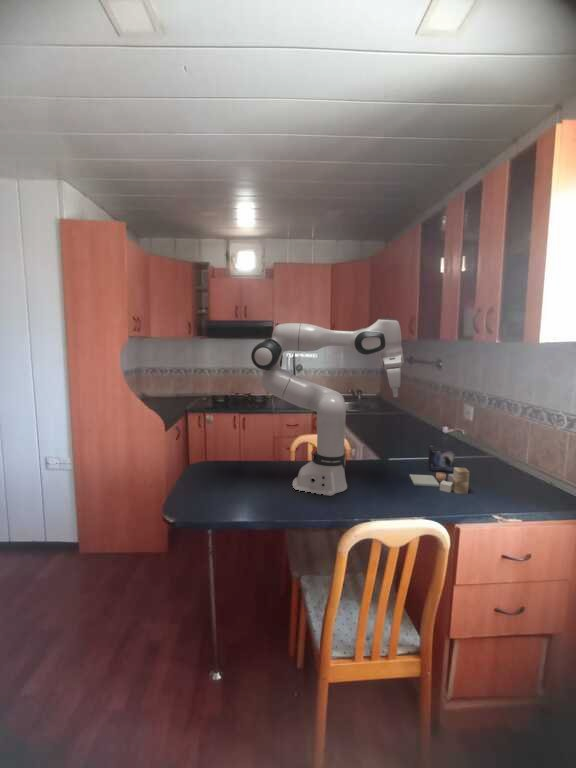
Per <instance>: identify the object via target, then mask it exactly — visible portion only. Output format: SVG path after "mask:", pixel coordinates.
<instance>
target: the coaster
mask: <svg viewBox="0 0 576 768" xmlns="http://www.w3.org/2000/svg"><path fill="white" fill-rule="evenodd" d="M409 478H410V479H411V482H412V483H413V485H414V486H421V487H422V486H423V487H424V486H425V487H440V482H438V481H436V477H435V476H434V475H430V474H413V473H412V474H409Z"/></svg>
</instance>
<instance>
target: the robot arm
mask: <svg viewBox="0 0 576 768" xmlns="http://www.w3.org/2000/svg"><path fill="white" fill-rule="evenodd" d="M402 339H403V338H402V330H401V325H400V323H399V321H398V320H397V319H396V318H391V317H390V318H387V317H385V318H384V317H382V318H378V319H377V320H376V321H375V322H374V323H372V324H371V325H370V326H368V327H359V328H358V329H355V330H335V329H334V330H332V329H327V328H324V327H322V326H318V325H316V324H310V323H305V322H304V323H303V322H302V323H301V322H298V323H297V322H289V323H288V322H287V323H280V324H277V325H275V327H274V328H273V331H272V334H271V338H267V339H266V340H264V341H262V342H260V343H257V344H256V345H255V346H254V347H253V349H252V350H251V355H250V356H251V357H250V358H251V362H252V363H253V365H254V366H255V367H256V368H257V369H259V370H262V375H261V378H260V385H261V387H262V388H263V389H264V391H266V392H268V393H269V394H272V396H275V397H277V398H278V399H280V400H284V401H286V402H287V403H290V404H292V405H295V406H296V407H297V408H298V407H299V408H303V409H307V410H309V411H310V410H311V411H313V412H316V431H317V432H316V436H317V437H316V449H313V450H311V460H310V461H309V462H307V463H306V464H305V465H303V466H302V467H301V468H300V469H299V472H298V474H297V476H296V477H295V478H294V479H293V480H292V486H293V487H292V486H291V487H292V489H293V488H294V489H295V490H299V491H298V492H300V491H305V492H304V493H307V492H311V493H310V494H314V493H316V495H321V494H323V495H322V496H330V497H331V496H334V495H335V494H338V493H341V492H344V491H346V490H347V489H348V483H347V480H346V473H345V467H346V453H345V438H346V437H345V435H346V418H347V417H346V415H347V407H346V401H345V398H344V396H343V395H342V394H341V393H340V392H338V391H336V390H334V389H331V388H329V387H326V386H323V385H320V384H318V383H314V382H312V381H309V380H307V379H304V378H303V377H300V376H298V375H296V374H293V373H291V372H288V371H287V370H285V369H283V368H282V366H283V359H284V355H283V354H284V353H285V352H289V351H292V352H293V351H294V352H314V351H319V350H320V349H323V348H325V347H331V346H336V347H350V348H354V349H356V351H357V352H358V353H359V354H361V355H365V356H367V355H372V354H375V353H378V352H379V353H378V354H379V362H380V363H379V364H380V366H381V367H383V368H384V369H383V370H385V371H386V376H387V379H388V380H387V381H388V384H389V387H390V389H391V392H392V397H393V398H399V388H401V382H402V381H401V380H402V379H401V377H402V376H401V372H402V371H401V368H402V367H403V364H404V351H403V350H404V349H403V347H402ZM294 489H293V490H294ZM295 490H294V491H295Z"/></svg>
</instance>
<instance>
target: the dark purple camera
mask: <svg viewBox="0 0 576 768" xmlns="http://www.w3.org/2000/svg"><path fill="white" fill-rule="evenodd" d="M455 458H456V451H455V449H454V447H453V446H449V447H448V446H438V445H429V447H428V461H427V467H428V470H429V472H436V473H437V472H442V473H448V474H453V471H454V467H455V460H456V459H455Z"/></svg>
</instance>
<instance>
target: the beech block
mask: <svg viewBox="0 0 576 768" xmlns="http://www.w3.org/2000/svg"><path fill="white" fill-rule="evenodd" d="M452 474H453V490H452V491H453V492H454V493H455V494H461V495H462V494H465V495H468V494H469V484H470V483H469V482H470V471H469V470H468V469H467V468H466V467H456V466H454V471H453V473H452Z"/></svg>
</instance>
